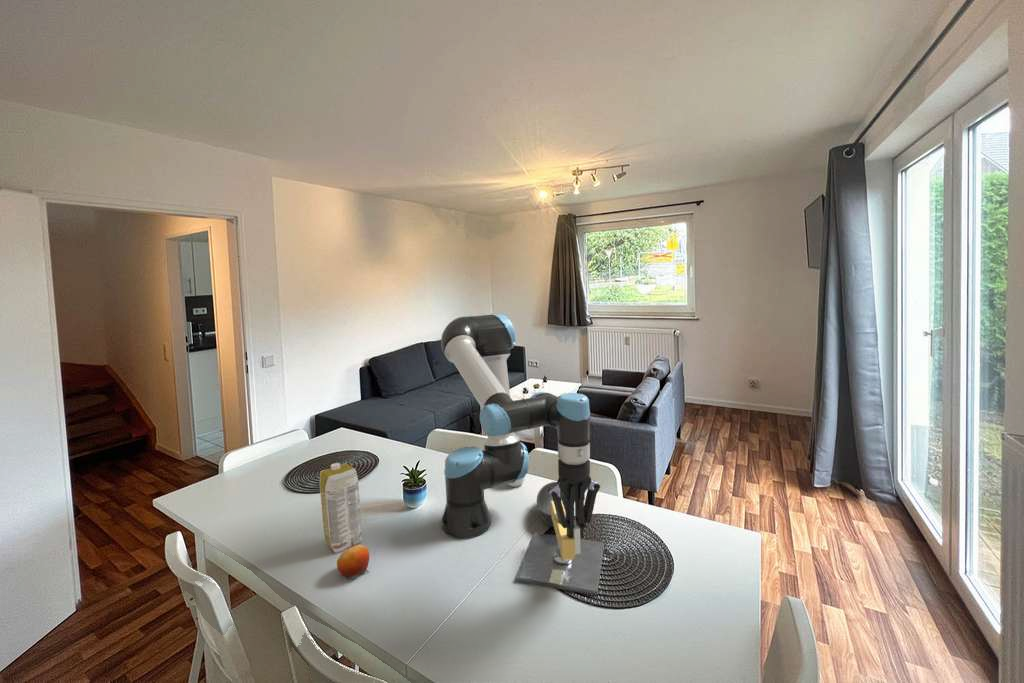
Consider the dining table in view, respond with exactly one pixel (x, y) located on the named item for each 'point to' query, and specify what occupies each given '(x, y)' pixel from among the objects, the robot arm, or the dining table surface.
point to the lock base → (562, 565)
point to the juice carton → (340, 506)
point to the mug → (516, 483)
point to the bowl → (548, 502)
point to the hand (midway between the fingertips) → (575, 550)
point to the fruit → (353, 561)
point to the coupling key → (563, 536)
